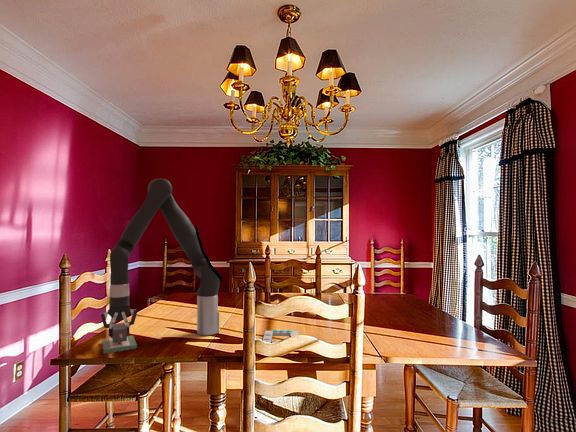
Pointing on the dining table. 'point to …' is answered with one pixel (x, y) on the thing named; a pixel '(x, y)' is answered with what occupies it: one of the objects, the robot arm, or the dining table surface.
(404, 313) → the dining table surface
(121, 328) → the plug housing
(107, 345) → the header board
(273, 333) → the electronic device
